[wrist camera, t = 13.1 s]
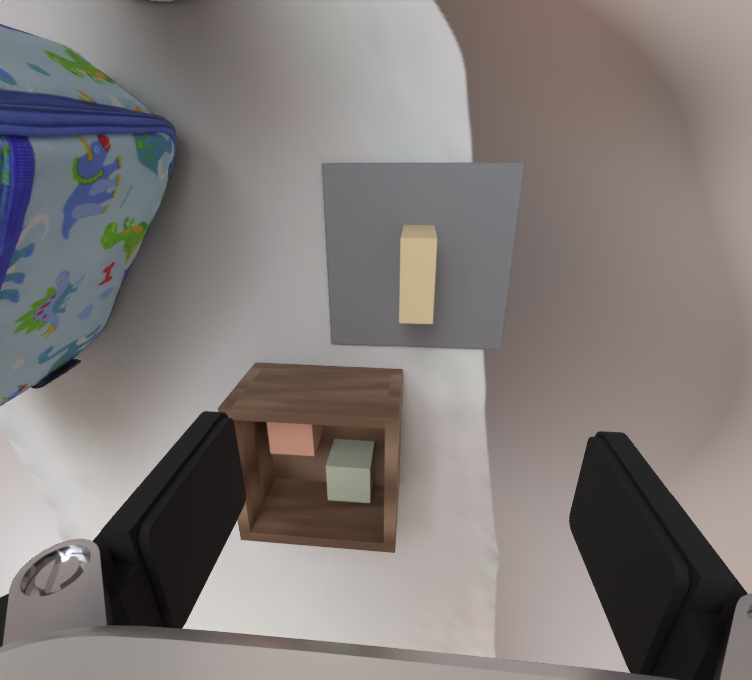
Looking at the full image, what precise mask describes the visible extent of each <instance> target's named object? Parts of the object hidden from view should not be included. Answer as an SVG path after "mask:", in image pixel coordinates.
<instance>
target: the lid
mask: <svg viewBox="0 0 752 680" xmlns="http://www.w3.org/2000/svg"><path fill="white" fill-rule="evenodd" d="M523 170H524V162H510V163H509V162H506V163H505V162H502V163H501V162H500V163H330V164H322V174H323V193H324V212H325V230H326V249H327V268H328V287H329V306H330V324H331V343H332V344H356V345H386V346H416V347H446V348H475V349H501V344H502V336H503V328H504V320H505V313H506V305H507V296H508V289H509V280H510V272H511V265H512V257H513V249H514V241H515V233H516V225H517V217H518V210H519V202H520V194H521V186H522V178H523Z"/></svg>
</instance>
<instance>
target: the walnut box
mask: <svg viewBox="0 0 752 680" xmlns="http://www.w3.org/2000/svg"><path fill="white" fill-rule="evenodd" d="M401 403H402V369H383V368H361V367H339V366H317V365H294V364H272V363H255V364H254V365H253V366H252V368H251V369H250V370H249V371H248V372H247V374H246V375H245V376H244V377H243V379H242V380H241V381H240V382H239V383H238V385H237V386H236V387H235V388H234V390H233V391H232V392H231V393H230V394H229V396H228V397H227V398H226V399H225V401H224V402H223V403H222V404H221V405H220V407H219V408H218V411H219V412H225V413H226V414H227V415H228V418H232V419H233V421H234V425H235V431H236V437H237V443H238V449H239V455H240V461H241V467H242V473H243V479H244V485H245V491H246V500H245V505H244V507H243V510H242V512H241V514H240V516H239V518H238V525H239V531H240V536H241V540H249V541H261V542H273V543H285V544H297V545H309V546H321V547H333V548H345V549H357V550H369V551H380V552H392V553H395V543H396V527H397V511H398V495H399V470H400V437H401ZM267 422H275V423H293V424H310V425H323V427H324V430H323V433H322V436H321V439H320V441H319V444H318V447H317V450H316V453H315V455H314V456H302V455H287V454H271V453H270V446H269V437H268V429H267ZM334 439H346V440H363V441H375V474H374V481H373V488H372V494H371V501H370V503H360V502H347V501H333V500H328V496H327V479H326V464H327V460H328V457H329V454H330V451H331V447H332V444H333V441H334Z"/></svg>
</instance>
